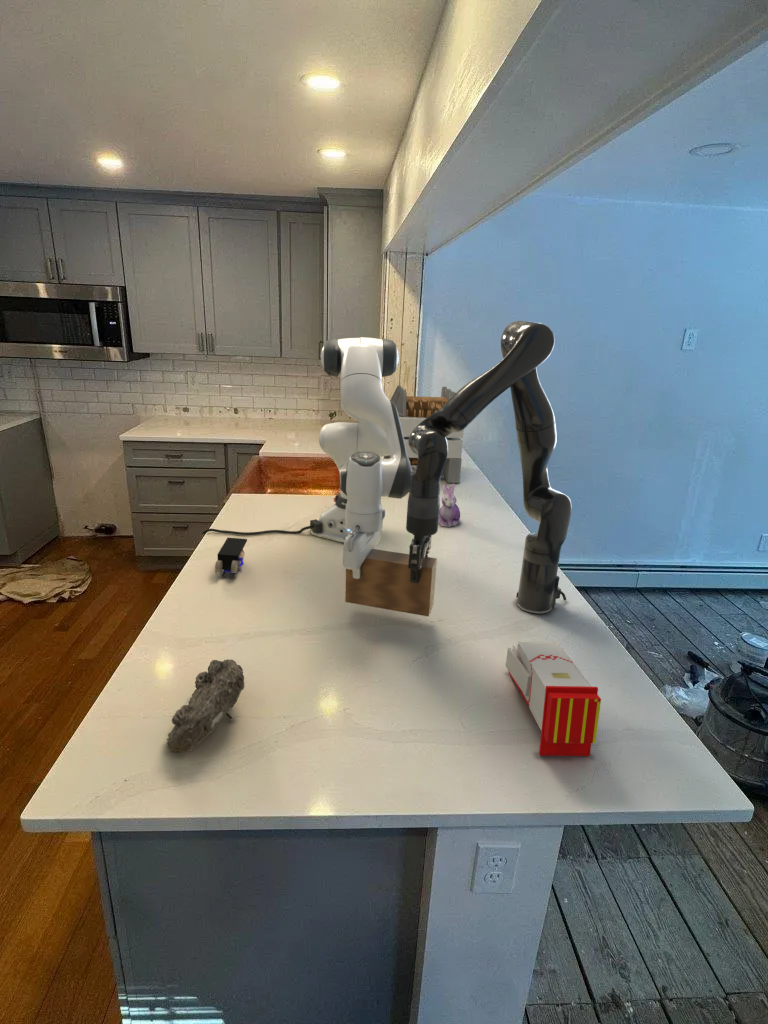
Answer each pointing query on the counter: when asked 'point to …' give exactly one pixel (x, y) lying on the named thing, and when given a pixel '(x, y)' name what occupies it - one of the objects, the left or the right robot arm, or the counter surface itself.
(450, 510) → the figurine
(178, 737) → the fossil
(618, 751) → the counter surface
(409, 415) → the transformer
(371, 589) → the box
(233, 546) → the figurine character
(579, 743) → the toy
